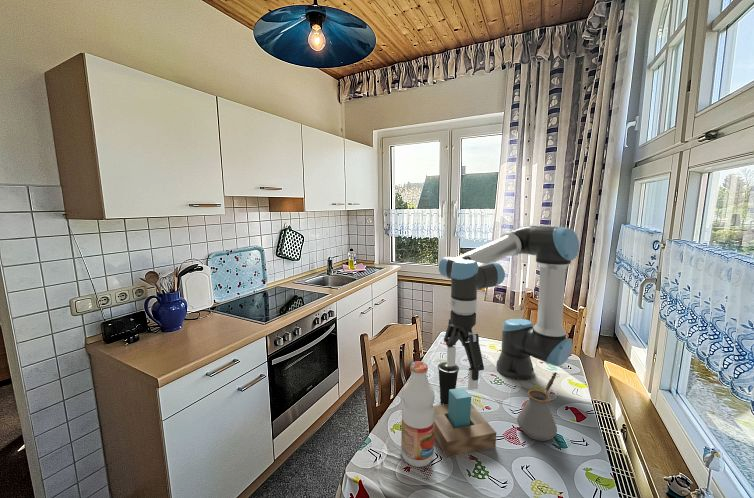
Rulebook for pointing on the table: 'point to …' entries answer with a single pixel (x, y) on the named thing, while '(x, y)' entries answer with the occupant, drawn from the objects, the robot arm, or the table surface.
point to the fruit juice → (418, 417)
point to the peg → (459, 408)
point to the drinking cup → (447, 380)
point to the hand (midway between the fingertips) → (461, 376)
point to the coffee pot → (538, 415)
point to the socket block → (462, 433)
